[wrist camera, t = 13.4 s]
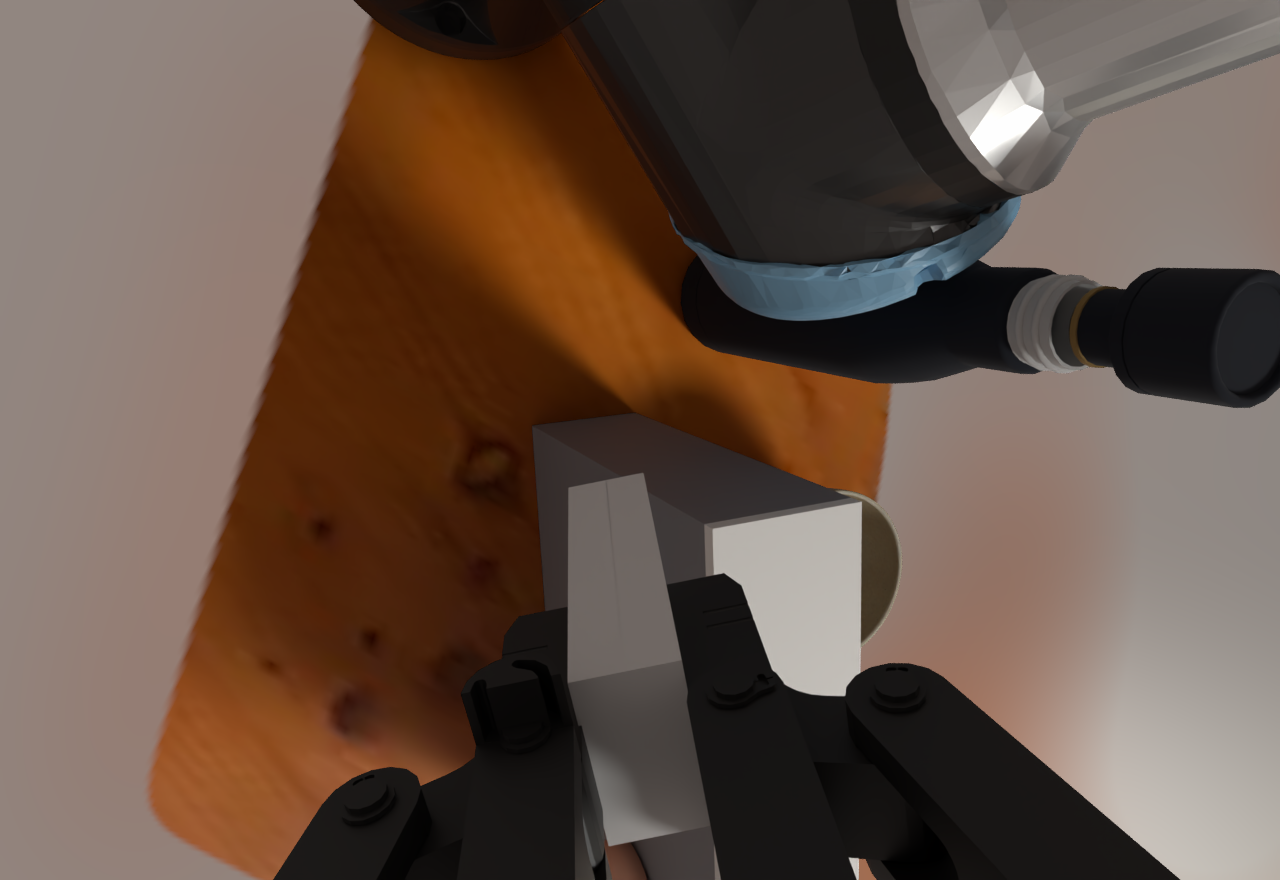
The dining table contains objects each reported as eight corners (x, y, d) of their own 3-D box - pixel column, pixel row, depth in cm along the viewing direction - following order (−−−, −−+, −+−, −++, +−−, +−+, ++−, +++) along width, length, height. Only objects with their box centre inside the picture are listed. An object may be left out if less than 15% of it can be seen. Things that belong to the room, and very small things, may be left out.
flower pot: (785, 641, 58) (853, 689, 52) (661, 588, 54) (718, 634, 48) (854, 501, 58) (931, 531, 52) (736, 437, 54) (803, 461, 48)
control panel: (560, 823, 54) (729, 1119, 36) (531, 425, 49) (712, 528, 30) (652, 795, 56) (857, 1060, 38) (635, 412, 51) (861, 501, 33)
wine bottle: (658, 292, 50) (1144, 334, 23) (736, 214, 51) (1288, 170, 24) (724, 375, 53) (1230, 500, 26) (797, 300, 54) (1357, 344, 27)
